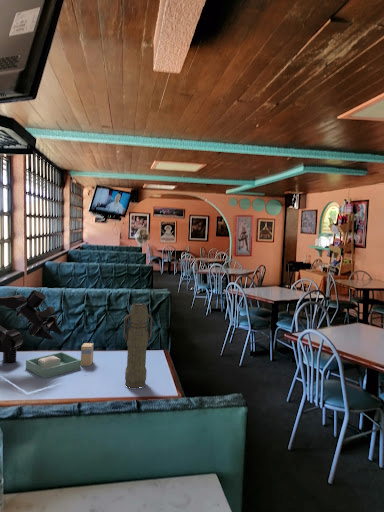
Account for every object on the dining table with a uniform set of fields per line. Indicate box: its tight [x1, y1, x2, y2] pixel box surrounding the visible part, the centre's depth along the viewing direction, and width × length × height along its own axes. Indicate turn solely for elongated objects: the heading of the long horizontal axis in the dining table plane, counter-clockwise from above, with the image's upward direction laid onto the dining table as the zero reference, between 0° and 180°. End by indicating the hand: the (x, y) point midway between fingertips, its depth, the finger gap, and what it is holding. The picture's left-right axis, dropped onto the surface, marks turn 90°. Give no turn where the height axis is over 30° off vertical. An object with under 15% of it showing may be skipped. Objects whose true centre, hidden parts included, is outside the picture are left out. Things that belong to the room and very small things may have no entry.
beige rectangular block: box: [38, 356, 60, 369], centre depth 168 cm, size 6×8×3 cm
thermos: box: [123, 302, 153, 389], centre depth 153 cm, size 9×12×35 cm
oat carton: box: [80, 342, 94, 367], centre depth 174 cm, size 4×6×10 cm
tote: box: [25, 351, 82, 379], centre depth 166 cm, size 16×18×4 cm
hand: (57, 336), depth 169 cm, fingers open, 9 cm apart
